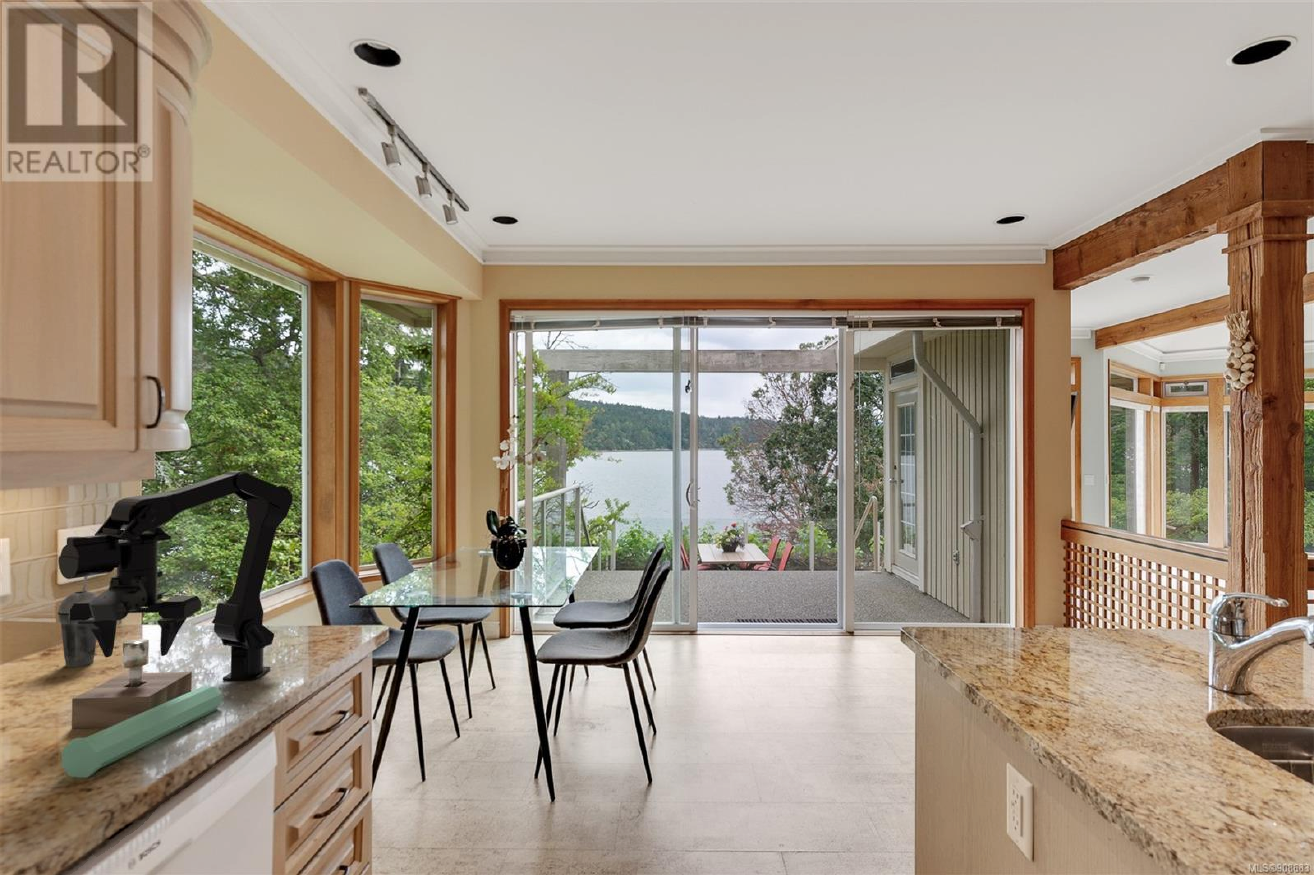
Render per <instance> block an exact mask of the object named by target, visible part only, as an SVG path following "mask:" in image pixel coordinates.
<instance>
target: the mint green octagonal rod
mask: <svg viewBox="0 0 1314 875" xmlns="http://www.w3.org/2000/svg"><path fill="white" fill-rule="evenodd" d="M222 702H223V693H222V691H221V690H220V689H219V688H218V687H217V686H208V685H203V686H200V687H198V688H196V689H193V690H192V691H191V692H189V693H186V694H184V695H182V696H179V697H177V698H175V699H173V700H170V701H168V702H166V703H164V704H161V705H159V706H157V707H154V708H152V709H150V710H148V711H145V712H143V713H141V714H138V715H136V716H134V717H132V718H129V719H127V720H125V721H122V722H120V723H118V724H116V725H113V726H111V727H106V728H104V729H103V730H100V731H97V732H95V733H93V734H91V735H89V736H87V737H76V738H74V739H72V740H71V741H70V742H69V743H68V744H67V745H65V747H64V748H63V749H62V750H61V767H62V769H63V770H64V772H65V773H66V774H67V775H68V777H70V778H71V777H72V778H73V777H74V778H85V779H86V778H89V777H91V776H93V775H94V774H95V773H96V772H97V771H98V770H100V769H102V768H103V767H106V766H108V765H110V764H112V763H113V762H114V763H115V762H116V761H118V760H119V759H122V758H124V757H126V756H128V755H130V754H133V753H134V752H136V751H137V750H140V749H142V748H144V747H147V746H148V745H150V744H152V743H154V742H156V741H158V740H160V739H162V738H164V737H165V735H166V736H168V735H170V734H171V733H170V732H172V731H174V732H176V731H177V730H176V729H178V728H180V727H181V726H184V725H186V724H188V723H190V722H192V721H194V720H196V719H198V718H199V719H201V718H203V717H205V716H208V715H209V714H211V713H213V712H214V711H216V709H218V707H220V705H221V704H222ZM200 717H201V718H200ZM199 719H198V720H199ZM196 721H197V720H196ZM194 722H195V721H194ZM192 723H193V722H192ZM190 724H191V723H190ZM188 725H189V724H188ZM186 726H187V725H186ZM184 727H185V726H184ZM180 729H181V728H180ZM175 730H176V731H175ZM178 730H179V729H178ZM169 733H170V734H169ZM172 733H173V732H172ZM167 734H168V735H167ZM163 736H164V737H163ZM161 737H162V738H161ZM159 738H160V739H159ZM155 740H156V741H155Z"/></svg>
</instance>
